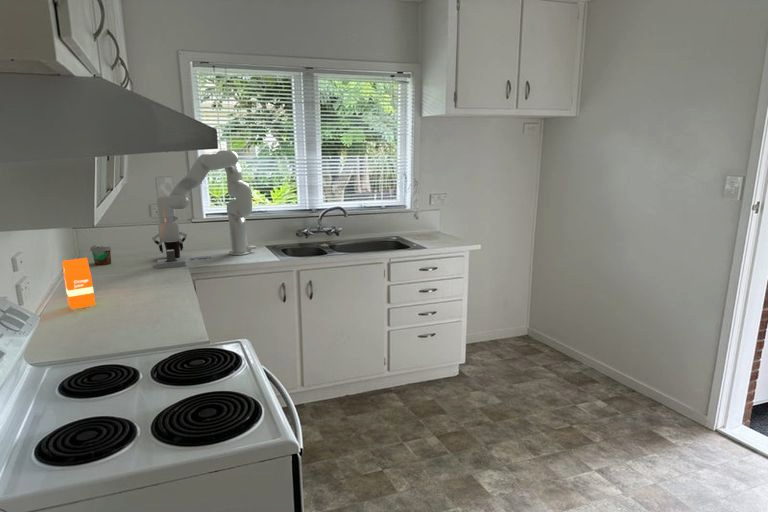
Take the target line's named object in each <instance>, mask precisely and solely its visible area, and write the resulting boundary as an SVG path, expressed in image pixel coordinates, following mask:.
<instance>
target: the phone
mask: <svg viewBox="0 0 768 512" xmlns="http://www.w3.org/2000/svg"><path fill="white" fill-rule="evenodd" d="M206 258H209V259H212V256H211V255H203V256H191V257H190V260H191V261H195V260H194V259H198V260H207V259H206Z"/></svg>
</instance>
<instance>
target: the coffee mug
mask: <svg viewBox="0 0 768 512" xmlns="http://www.w3.org/2000/svg"><path fill="white" fill-rule="evenodd" d="M163 243H164V247H165V251H166V250H174V251H175V258H181V250H180V242H179V241H178V240H176V241H166V242H163Z"/></svg>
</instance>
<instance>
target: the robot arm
mask: <svg viewBox="0 0 768 512" xmlns="http://www.w3.org/2000/svg"><path fill="white" fill-rule="evenodd" d="M222 169H223V170H224V171H225V173H226V174H225V175H226V184H227V185H226V186H227V192H228V195H229V196H230V197H233V198H235V199H231V200H230V201H228V203H227V204H226V212H227V213H226V214H227V216H228V217H227V218H228V222H229V223H228V224H229V236H230V248H231V250H229V251H228V254H229V255H231V256H244V255H249V254H251V253H252V250H257V245H249V243H248V231H247V230H248V229H247V220H246V218H248V217H249V216H251V214H252V211H253V197H252V196H253V195H252V189H251V186H250V185H249V184H248V183H247V182H246V181H244V180H243V173H242V172H243V171H242V167H241V166H240V163H239V155H238V154H237V153H236V152H235V151H233V150H227V149H226V150H225V149H223V150H218V151H217V152H216V153H203V154H201V155H199V156H198V158H197V159H195V161H194V163H193V164H192V166H191V168H190V169H189V171H188V172H187V173H186V175H185V176H184V177H183V178H182V179H181V180H180V181H179V182H178V183H176V185H175V186H174V187H173V189H172V191H171V192H170V194H169V195H165V196H158V197H157V198H156V205H157V211H158V218H159V222H158V226H157V227H158V234H155V235H154V236H152V238H151V239H152V240H153V243H155V244H156V245H157V246H158V249H159V252H160V253H161V254H162V253H163V252H164V247H163V243H164V242H166V241H176V240H178V241H179V242H180V252H181V251H183V250H184V242H185V240H186V239H187V236H188V234H187V233H184V232H183V231H182V232H181V231H180V229H179V227H180V226H179V224H178V221H176V220H178V219H179V218H178V216H175V211H174V210H183V209H184V210H185V209H186V208H187V207H189V205H190V200H189V198H188V197H187V195H188V194H189V192H191V191H192V190H193V189H195V188H197V187H199V186H200V185H202V183H203V182H204V180H205V179H206V177H207V175H208V174H209V172H210V171H218V170H222ZM181 236H183V237H182V239H181ZM157 238H159V241H158V240H157Z"/></svg>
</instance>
